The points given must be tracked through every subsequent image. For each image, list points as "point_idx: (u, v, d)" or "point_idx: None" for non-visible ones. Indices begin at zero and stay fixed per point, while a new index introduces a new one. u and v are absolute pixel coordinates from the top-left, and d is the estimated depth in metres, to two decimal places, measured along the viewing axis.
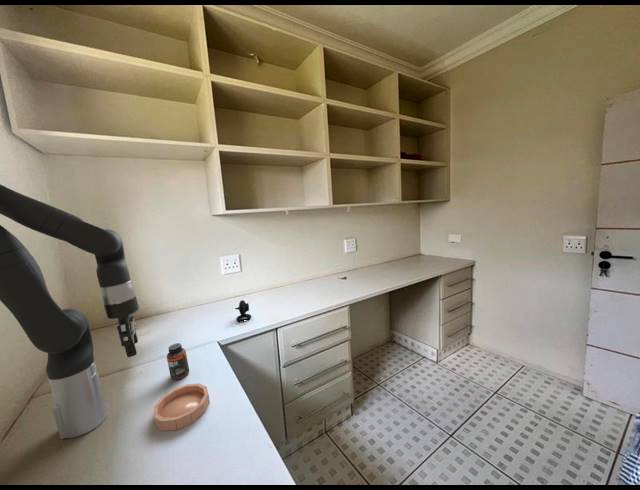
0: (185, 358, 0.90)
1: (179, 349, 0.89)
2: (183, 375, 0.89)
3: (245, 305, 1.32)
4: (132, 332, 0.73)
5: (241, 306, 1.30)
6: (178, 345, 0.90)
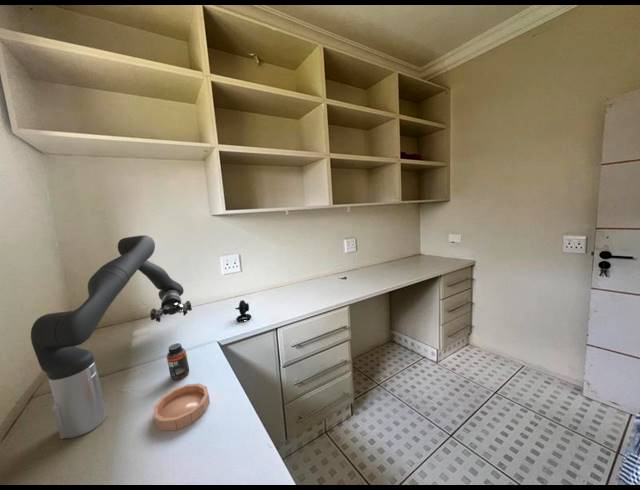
0: (185, 358, 0.90)
1: (179, 349, 0.89)
2: (183, 375, 0.89)
3: (245, 305, 1.32)
4: None
5: (241, 306, 1.30)
6: (178, 345, 0.90)
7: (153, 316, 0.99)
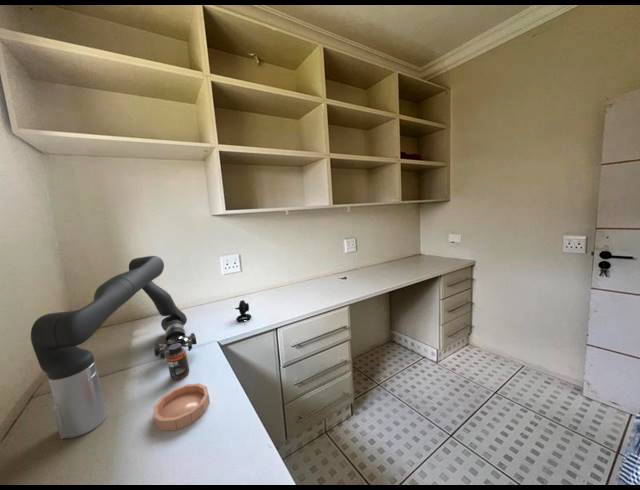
0: (185, 358, 0.90)
1: (179, 349, 0.89)
2: (183, 375, 0.89)
3: (245, 305, 1.32)
4: None
5: (241, 306, 1.30)
6: (178, 345, 0.90)
7: (157, 352, 0.96)
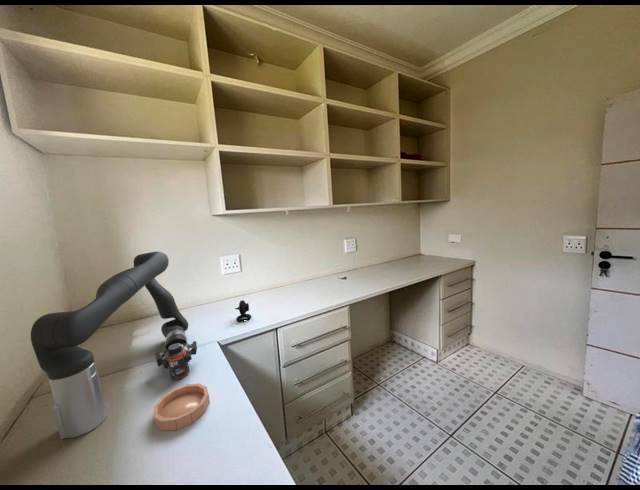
0: (185, 358, 0.90)
1: (179, 349, 0.89)
2: (183, 375, 0.89)
3: (245, 305, 1.32)
4: None
5: (241, 306, 1.30)
6: (178, 345, 0.90)
7: (161, 361, 0.90)
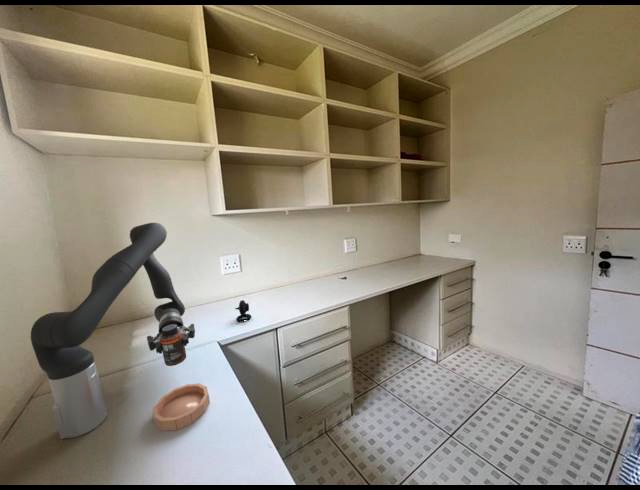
0: (181, 341, 0.79)
1: (174, 331, 0.77)
2: (179, 361, 0.78)
3: (245, 305, 1.32)
4: None
5: (241, 306, 1.30)
6: (173, 326, 0.78)
7: (153, 345, 0.78)
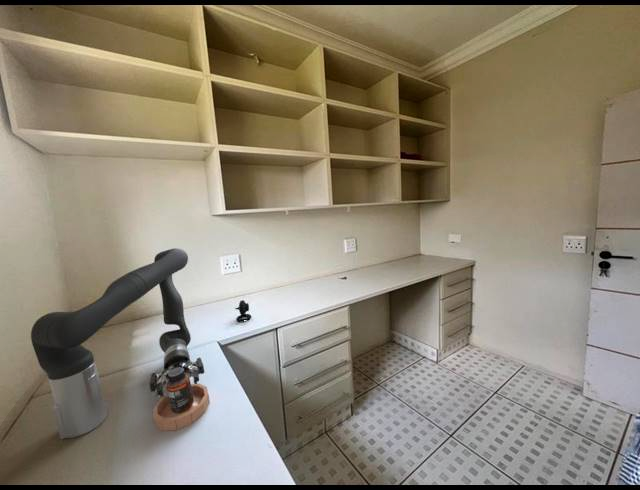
0: (189, 386, 0.74)
1: (181, 375, 0.73)
2: (186, 407, 0.73)
3: (245, 305, 1.32)
4: None
5: (241, 306, 1.30)
6: (180, 370, 0.74)
7: (153, 387, 0.73)
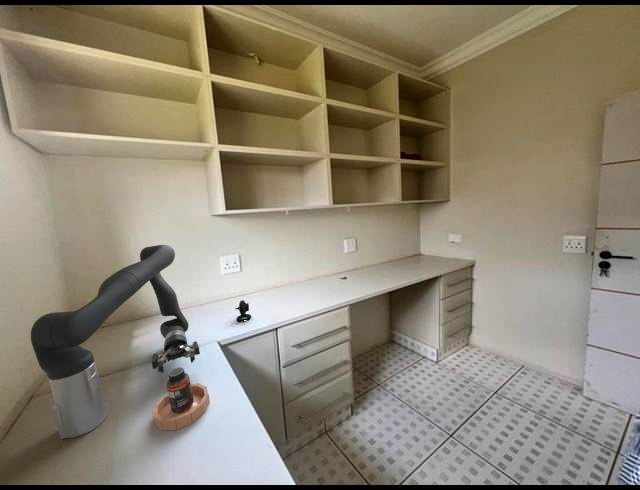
0: (189, 386, 0.74)
1: (181, 375, 0.73)
2: (186, 407, 0.73)
3: (245, 305, 1.32)
4: None
5: (241, 306, 1.30)
6: (180, 370, 0.74)
7: (155, 364, 0.84)
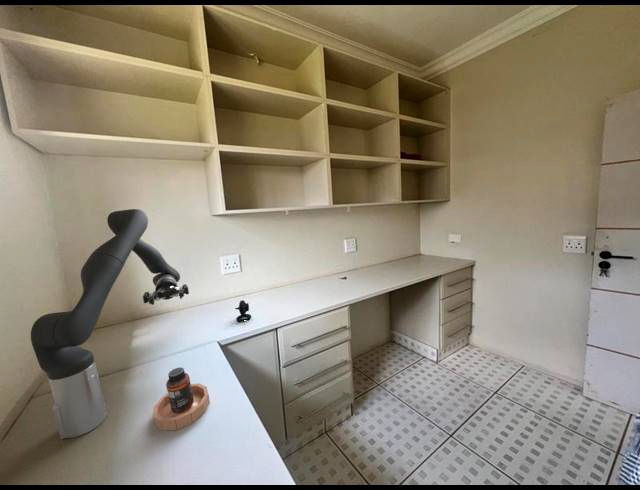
0: (189, 386, 0.74)
1: (181, 375, 0.73)
2: (186, 407, 0.73)
3: (245, 305, 1.32)
4: None
5: (241, 306, 1.30)
6: (180, 370, 0.74)
7: (146, 299, 0.89)
